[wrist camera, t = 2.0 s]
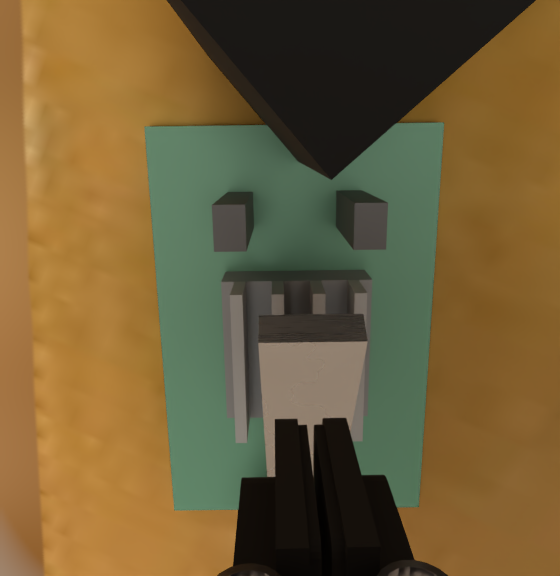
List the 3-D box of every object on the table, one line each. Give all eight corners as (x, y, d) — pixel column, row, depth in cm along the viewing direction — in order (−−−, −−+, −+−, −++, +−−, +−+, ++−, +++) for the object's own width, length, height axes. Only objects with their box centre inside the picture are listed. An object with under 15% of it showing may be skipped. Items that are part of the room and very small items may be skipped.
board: (414, 495, 35) (460, 613, 26) (177, 498, 35) (143, 617, 26) (437, 123, 29) (509, 111, 20) (149, 127, 29) (91, 117, 20)
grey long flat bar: (339, 524, 28) (341, 552, 27) (259, 525, 28) (258, 553, 27) (386, 307, 15) (394, 347, 14) (235, 310, 15) (232, 349, 14)
